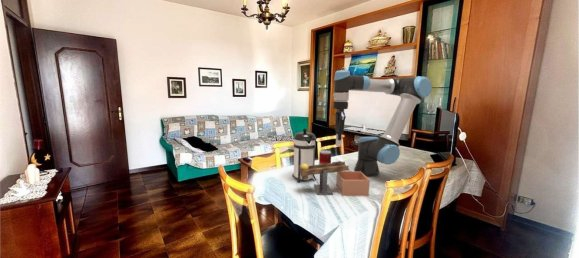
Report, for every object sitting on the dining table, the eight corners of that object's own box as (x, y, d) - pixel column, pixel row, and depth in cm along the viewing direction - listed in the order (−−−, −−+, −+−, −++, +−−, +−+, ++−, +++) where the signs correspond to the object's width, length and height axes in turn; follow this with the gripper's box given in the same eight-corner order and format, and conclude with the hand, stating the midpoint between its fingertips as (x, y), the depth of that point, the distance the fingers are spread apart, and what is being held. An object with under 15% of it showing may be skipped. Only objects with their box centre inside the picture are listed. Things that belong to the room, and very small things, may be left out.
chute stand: (316, 194, 119) (317, 170, 117) (313, 186, 130) (314, 163, 128) (332, 194, 119) (333, 170, 117) (328, 186, 130) (329, 163, 128)
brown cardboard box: (359, 185, 132) (360, 171, 130) (368, 195, 119) (369, 180, 117) (336, 185, 131) (336, 171, 130) (342, 195, 118) (342, 180, 117)
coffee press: (321, 177, 144) (323, 127, 139) (308, 185, 130) (310, 131, 126) (297, 171, 153) (297, 125, 148) (282, 179, 140) (283, 128, 135)
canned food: (328, 170, 157) (328, 153, 155) (317, 167, 161) (317, 152, 159) (332, 167, 163) (333, 151, 161) (321, 165, 167) (322, 149, 166)
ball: (308, 169, 124) (307, 162, 124) (309, 171, 120) (308, 164, 120) (301, 170, 124) (300, 163, 124) (301, 173, 120) (300, 165, 120)
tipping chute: (301, 179, 119) (300, 169, 118) (299, 171, 132) (298, 161, 131) (349, 174, 120) (348, 163, 119) (342, 166, 133) (341, 156, 132)
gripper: (331, 100, 130) (329, 143, 134) (336, 101, 117) (334, 148, 121) (344, 100, 130) (342, 143, 134) (351, 101, 118) (348, 148, 121)
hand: (338, 145), depth 127 cm, fingers closed
